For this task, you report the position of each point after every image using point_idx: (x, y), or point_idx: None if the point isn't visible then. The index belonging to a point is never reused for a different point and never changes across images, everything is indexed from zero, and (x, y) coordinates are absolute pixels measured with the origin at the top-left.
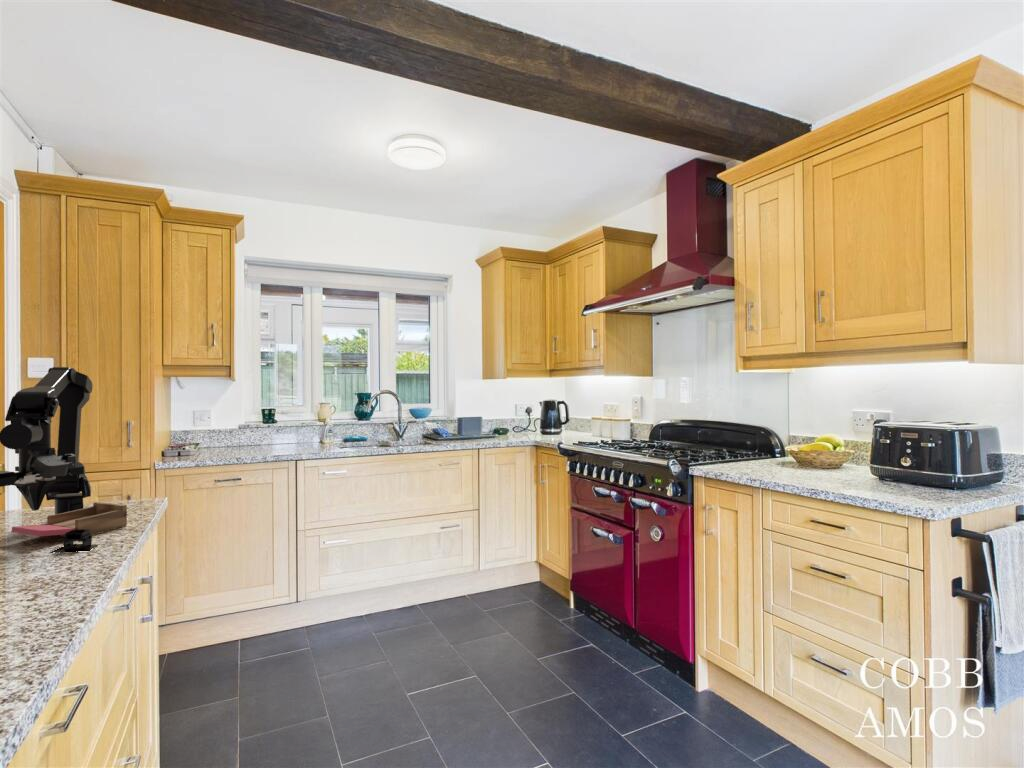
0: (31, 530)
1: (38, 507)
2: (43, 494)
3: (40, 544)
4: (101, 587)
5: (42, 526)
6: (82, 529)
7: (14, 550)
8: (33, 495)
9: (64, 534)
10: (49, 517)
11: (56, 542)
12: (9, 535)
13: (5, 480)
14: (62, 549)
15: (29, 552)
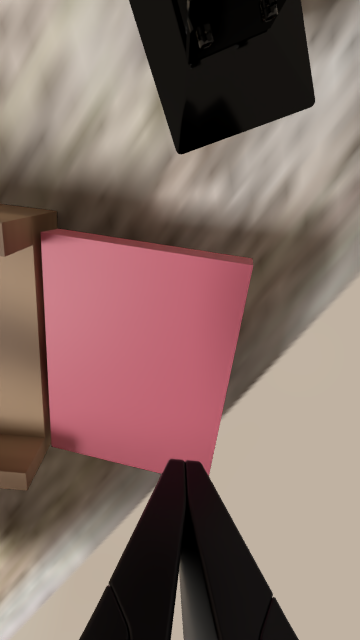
0: (235, 348)
1: (175, 471)
2: (126, 608)
3: None
4: None
5: (109, 412)
6: (9, 210)
7: (287, 323)
8: (269, 633)
9: None
10: (28, 472)
11: None
12: (125, 515)
13: None
14: (272, 36)
15: (309, 222)
